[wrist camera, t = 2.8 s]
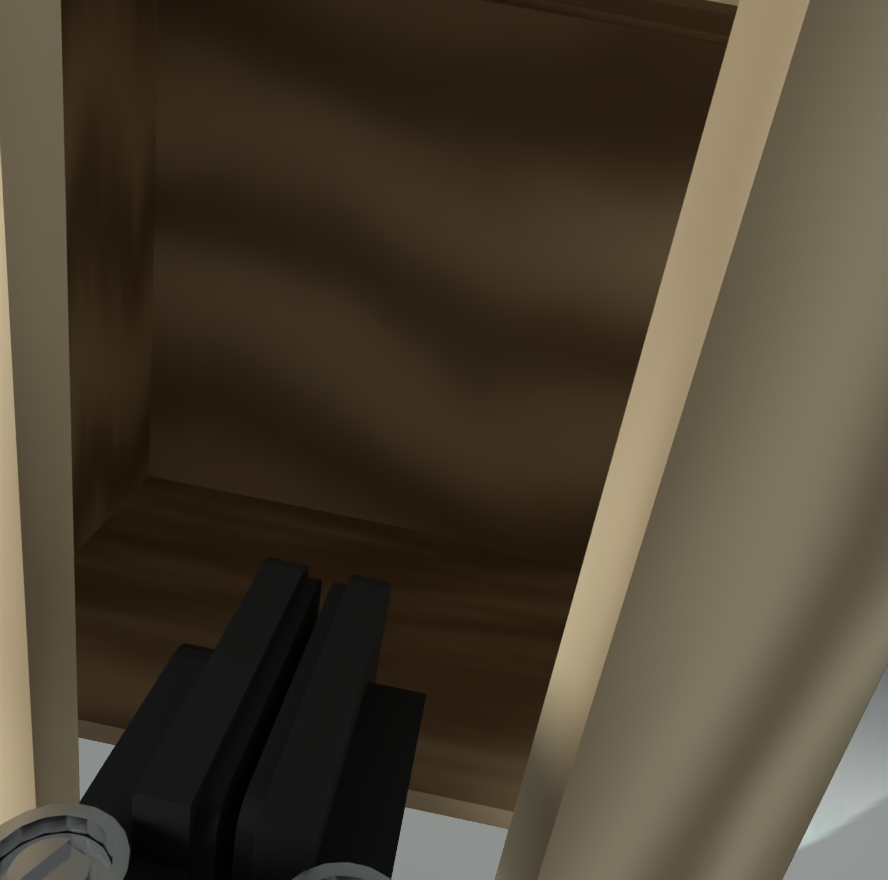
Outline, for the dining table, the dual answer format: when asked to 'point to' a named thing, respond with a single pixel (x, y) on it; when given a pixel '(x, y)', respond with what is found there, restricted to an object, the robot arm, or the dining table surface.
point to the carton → (364, 326)
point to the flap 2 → (737, 491)
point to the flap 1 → (35, 423)
